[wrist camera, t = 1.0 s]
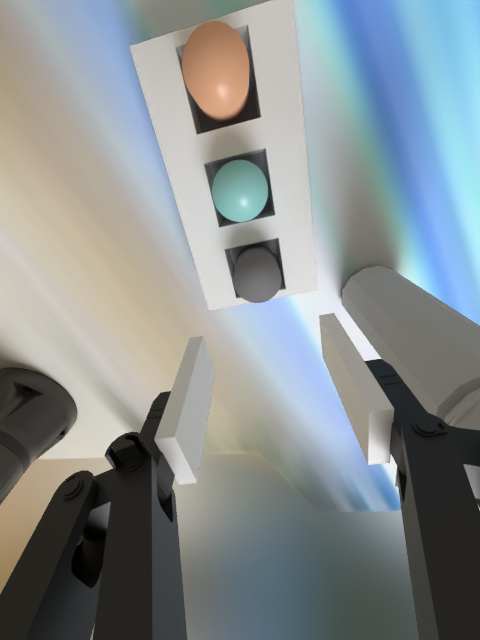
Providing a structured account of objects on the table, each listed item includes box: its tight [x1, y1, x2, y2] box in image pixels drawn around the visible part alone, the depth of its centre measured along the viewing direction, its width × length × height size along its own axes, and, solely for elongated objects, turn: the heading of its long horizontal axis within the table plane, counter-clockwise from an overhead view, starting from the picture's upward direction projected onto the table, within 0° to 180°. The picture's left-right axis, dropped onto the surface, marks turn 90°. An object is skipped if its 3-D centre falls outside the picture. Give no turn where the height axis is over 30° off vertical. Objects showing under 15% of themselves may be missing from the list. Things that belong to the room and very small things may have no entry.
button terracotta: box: [182, 21, 249, 123], centre depth 20 cm, size 4×4×5 cm
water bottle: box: [342, 265, 480, 430], centre depth 22 cm, size 9×8×25 cm
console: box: [129, 0, 318, 310], centre depth 26 cm, size 12×22×5 cm, turn 12°
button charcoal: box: [233, 244, 281, 303], centre depth 27 cm, size 4×4×5 cm
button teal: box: [212, 160, 268, 222], centre depth 23 cm, size 4×4×5 cm
